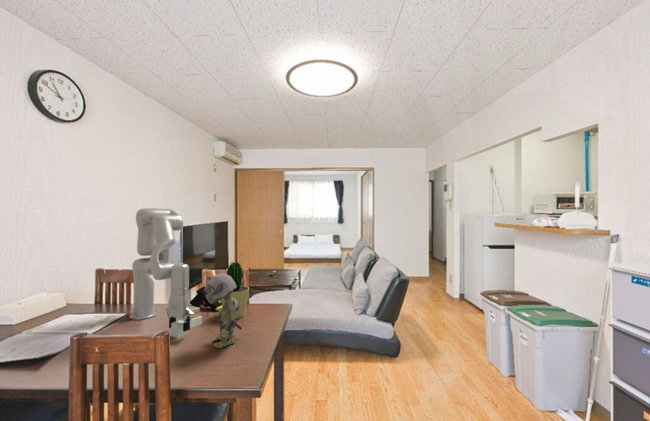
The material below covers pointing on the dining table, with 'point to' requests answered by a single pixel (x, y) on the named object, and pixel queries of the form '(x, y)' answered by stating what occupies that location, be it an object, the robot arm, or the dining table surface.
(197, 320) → the tower base
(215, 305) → the toy gun
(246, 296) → the potted cactus
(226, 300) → the toy
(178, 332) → the sage block
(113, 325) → the dining table surface
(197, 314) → the tower top
